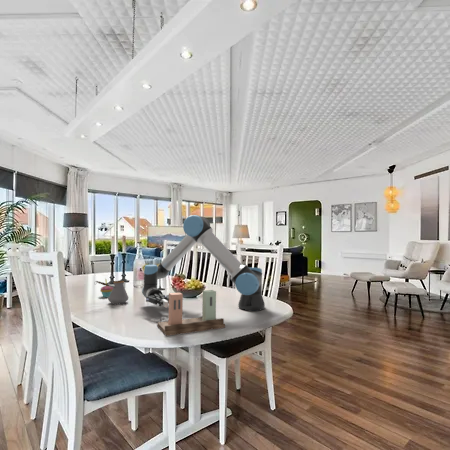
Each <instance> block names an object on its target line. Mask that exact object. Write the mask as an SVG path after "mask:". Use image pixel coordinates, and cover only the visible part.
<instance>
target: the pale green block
mask: <svg viewBox="0 0 450 450" xmlns="http://www.w3.org/2000/svg"><path fill="white" fill-rule="evenodd" d="M201 304H202V306H201V308H202V310H201V311H202V312H201V313H202V314H201V316H202V321H206V320H214V319H217V291H216V290H213V289H209V290H206V289H205V290H202V303H201Z"/></svg>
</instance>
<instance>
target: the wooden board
mask: <svg viewBox="0 0 450 450" xmlns="http://www.w3.org/2000/svg"><path fill="white" fill-rule="evenodd" d="M224 321H225V319H224V318H216V319H214V320H206V321H202V317H192V318H184V319H183V318H182V324H174V325H168V321H160V322H159V321H158V322H156V323H157V326H156V327H158V328H159V330H160V331H161V332H162V333H163V334H164V335H165V336H166V337H167V336H175V335H182V334H190V333H197V332H203V331H211V330H218V329H224V328H226V323H224Z"/></svg>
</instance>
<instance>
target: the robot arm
mask: <svg viewBox="0 0 450 450" xmlns="http://www.w3.org/2000/svg"><path fill="white" fill-rule="evenodd" d="M210 223H211V222H210V221H209V220H208V218H206V217H204V216H201V215H198V214H192V215H189V216H187V217H186V218H185V219H184V221H183V223H182V224H183V225H182V228H183V229H182V230H183V232H184V233H185V234H186V235H185V236H184V237H183V238H182V239H181V240H180V241H179V242H178V243H177V245H176V246H174V248H173V249H172V250H171V251H170V252H169V253H168V254H167V255H166V257H165V258H164V259H163V260H162V261H161V262H160V263H159V264H158V265H157V264H146V265H144V268H143V287H142V291H141V292H142V295H143V297H144V298H145V302H146V303H147V302H148V303H151V304H153V305H156V306H157V305H158V307H161V306H162V307H164V308H169V294H166V295H165V294H164V293H163V292H162V291H161V290H160V289H159V288H158V280H160V279H164V278H166V277H167V276H169V274H170V271H171V270H172V269H173V268H174V267H175V266H176V265H177V264H178V263H179V262H180V261H181V260H182V259H183V257H185V255H186V254H187V253H188V252H189V251H190V250H191V249H192V248H193V247H194V246H195V245H196V244H201V245H203V247H204V248H205V249H206V250H207V251H208V252H209V254H211V256H212V257H213V258H214V259H215V260H216V261H217V262H218V264H220V265H221V267H222V268H223V269H224V270H225V271H226V272H227V273H228V275H230V281H231V282H232V283H233V284H234V286H235V288H236V291H238V293H239V294H241V295H240V298H239V301H238V305H237V306H238V307H239V309H240V308H241V309H240V310H242V309H245V310H244V311H249V310H258V311H261V310H260V309H263V310H265V309H266V307H265V305H266V304H265V302H264V297H263V295H262V293H263V291H262V290H263V289H262V288H263V284H262V283H263V282H262V281H263V278H262V277H263V270H262V268H260V267H249V266H248V265H247V264H243V263H242V262H241V261H240V260H239V259H238V258H237V257H236V256H235V255H234V254H233V253H232V252H231V250H229V249H228V248H227V247H226V245H225V244H224V243H223V242H222V241H221V240H220V239H219V238H218V237H217V236H216V235H215V234H214V232H213V229H214V228H213V227H212V226H211V224H210ZM238 307H237V308H238ZM264 308H265V309H264Z"/></svg>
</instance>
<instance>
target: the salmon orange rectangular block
mask: <svg viewBox="0 0 450 450" xmlns="http://www.w3.org/2000/svg"><path fill="white" fill-rule="evenodd" d="M168 295H169V304H168V325H174V324H182V320H183V303H184V302H183V300H184V298H183V296H184V295H183V293H181V292H170V293H168Z"/></svg>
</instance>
